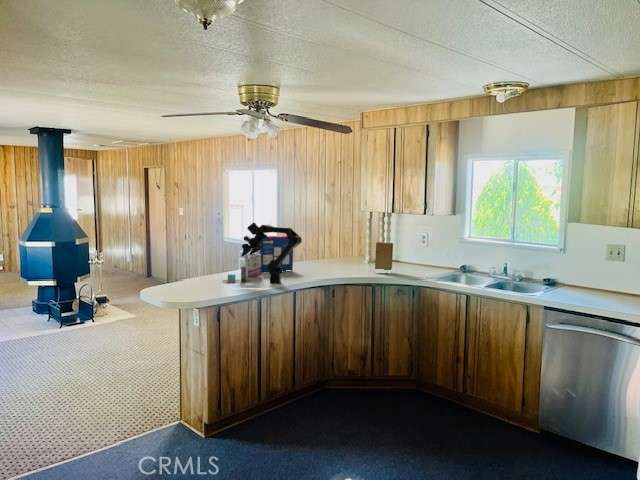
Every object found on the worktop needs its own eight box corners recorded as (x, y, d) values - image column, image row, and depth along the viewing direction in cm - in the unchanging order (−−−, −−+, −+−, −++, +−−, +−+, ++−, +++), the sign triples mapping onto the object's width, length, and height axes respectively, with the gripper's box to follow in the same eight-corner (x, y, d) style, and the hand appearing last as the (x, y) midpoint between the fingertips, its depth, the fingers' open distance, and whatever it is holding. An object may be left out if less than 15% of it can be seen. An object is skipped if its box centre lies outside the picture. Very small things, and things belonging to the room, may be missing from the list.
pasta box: (287, 269, 390) (289, 235, 387) (292, 271, 383) (293, 236, 381) (256, 271, 376) (257, 236, 373) (260, 273, 369) (261, 237, 366)
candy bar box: (257, 272, 352) (258, 252, 345) (261, 275, 349) (261, 254, 342) (244, 276, 346) (244, 255, 339) (248, 279, 342) (248, 258, 335)
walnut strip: (250, 281, 332) (250, 265, 331) (251, 284, 321) (251, 268, 320) (222, 281, 328) (222, 265, 327) (222, 284, 316) (222, 268, 315)
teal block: (234, 280, 326) (235, 273, 326) (235, 282, 322) (235, 274, 321) (227, 280, 325) (227, 273, 325) (227, 282, 321) (227, 274, 320)
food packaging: (392, 272, 394) (393, 242, 392) (390, 274, 385) (392, 243, 383) (376, 271, 398) (377, 241, 395) (374, 273, 389) (375, 242, 386)
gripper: (257, 230, 345) (246, 246, 350) (242, 232, 328) (230, 249, 333) (267, 241, 342) (256, 256, 347) (253, 243, 325) (241, 259, 330)
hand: (246, 255), depth 340 cm, fingers open, 9 cm apart
